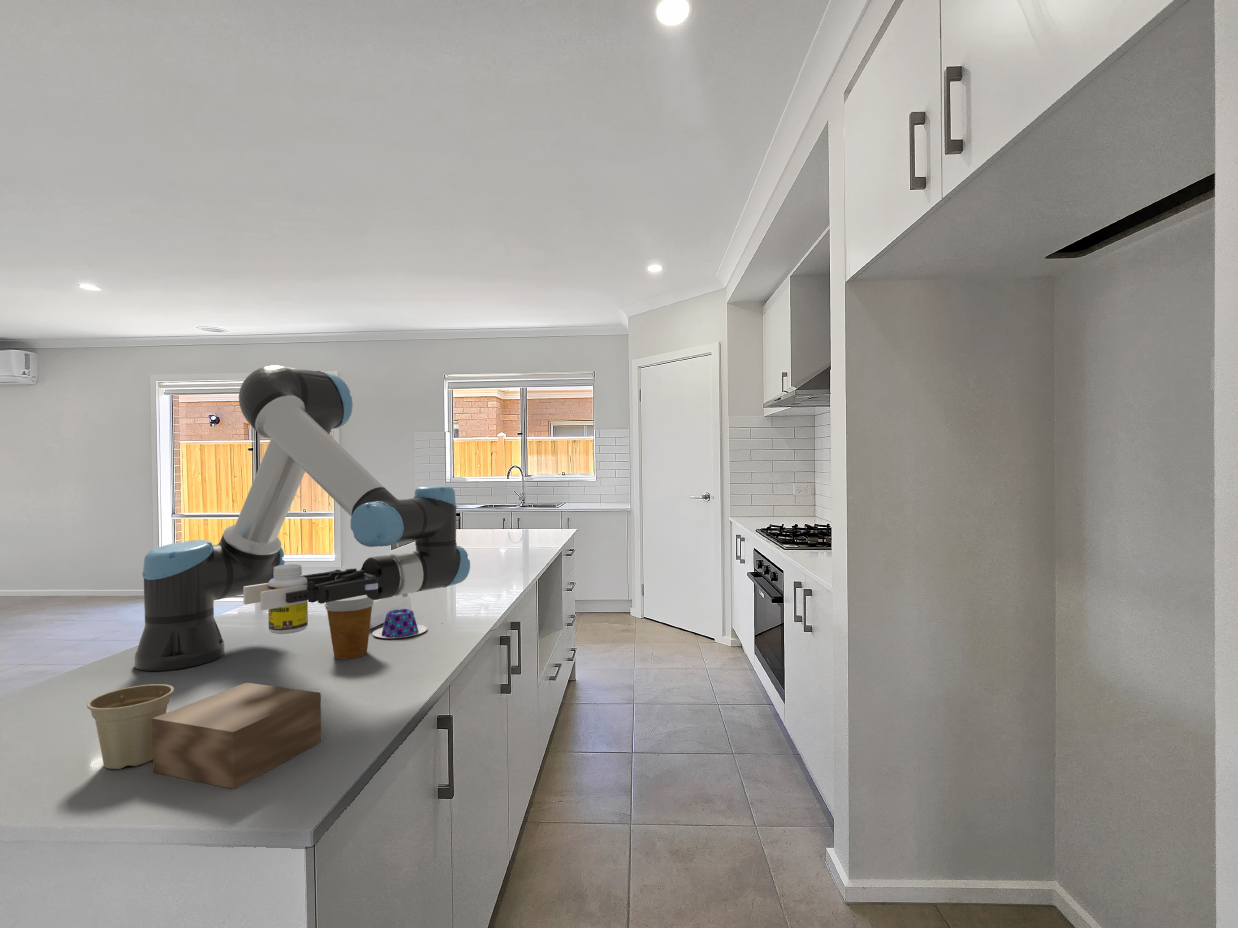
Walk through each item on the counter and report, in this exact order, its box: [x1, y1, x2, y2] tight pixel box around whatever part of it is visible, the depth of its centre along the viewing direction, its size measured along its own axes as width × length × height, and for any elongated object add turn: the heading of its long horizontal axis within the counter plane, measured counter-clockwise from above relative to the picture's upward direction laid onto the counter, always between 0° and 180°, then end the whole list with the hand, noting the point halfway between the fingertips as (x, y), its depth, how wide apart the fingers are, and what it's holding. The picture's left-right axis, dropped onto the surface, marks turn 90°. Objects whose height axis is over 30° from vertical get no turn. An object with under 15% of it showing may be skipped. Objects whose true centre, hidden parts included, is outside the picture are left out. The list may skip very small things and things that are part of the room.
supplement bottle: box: [267, 563, 309, 635], centre depth 104 cm, size 6×6×10 cm
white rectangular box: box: [369, 594, 412, 630], centre depth 164 cm, size 7×7×24 cm
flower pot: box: [86, 683, 175, 770], centre depth 89 cm, size 9×9×9 cm
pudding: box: [371, 609, 428, 639], centre depth 151 cm, size 12×12×5 cm
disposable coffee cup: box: [323, 595, 374, 660], centre depth 135 cm, size 10×10×12 cm
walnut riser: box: [152, 682, 323, 790], centre depth 89 cm, size 14×14×7 cm
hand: (253, 598), depth 100 cm, fingers closed on supplement bottle, 5 cm apart
